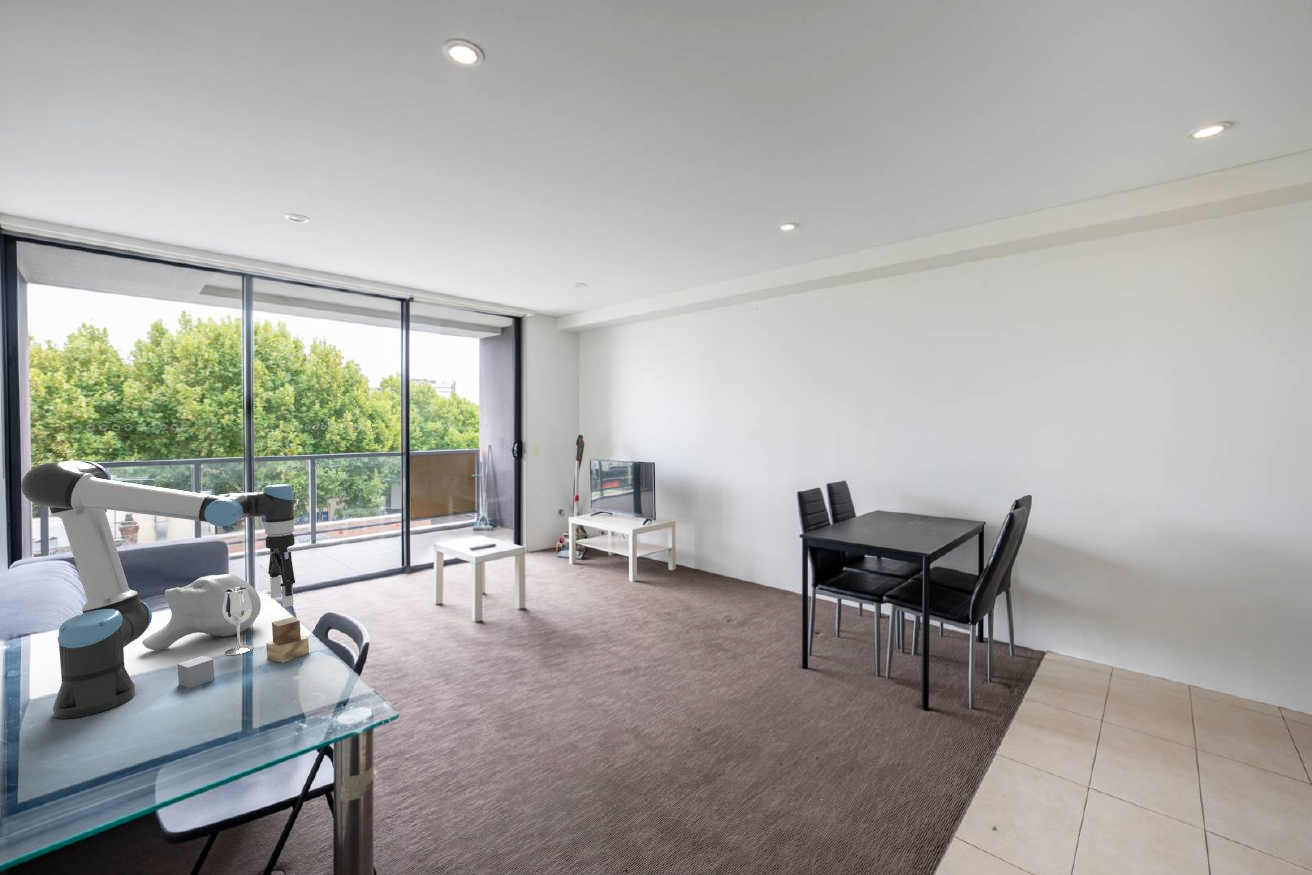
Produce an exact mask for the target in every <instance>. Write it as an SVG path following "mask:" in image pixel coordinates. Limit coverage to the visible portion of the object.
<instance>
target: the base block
mask: <svg viewBox="0 0 1312 875" xmlns="http://www.w3.org/2000/svg"><path fill="white" fill-rule="evenodd" d="M265 645H266V659H267V660H271V661H276V662H279V663H285V662H288V661H291V660H293V659H296V658H299V657H301V656H303V655H306V654H309V653H310V646H309V645H310V643H309V637H307V636H302V635H301V640H297V641H294V642H290V643H286V644H283V645H279V646H278V645H277V644H276V643H275V642H274V641H273V640H272V641H269V642H266V643H265Z"/></svg>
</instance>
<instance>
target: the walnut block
mask: <svg viewBox="0 0 1312 875" xmlns="http://www.w3.org/2000/svg"><path fill="white" fill-rule="evenodd" d="M300 622H301V621H300V619H298V618H297V617H295V616H290V617H287V618H284V619H280V620H275V621H272V622H271V627H272V628H271V630H272V641H274V642H275V643H276V644H277V645H278V646H279V645H283V644H286V643H290V642H294V641H297V640H301V636H302V635H301V623H300Z"/></svg>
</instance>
